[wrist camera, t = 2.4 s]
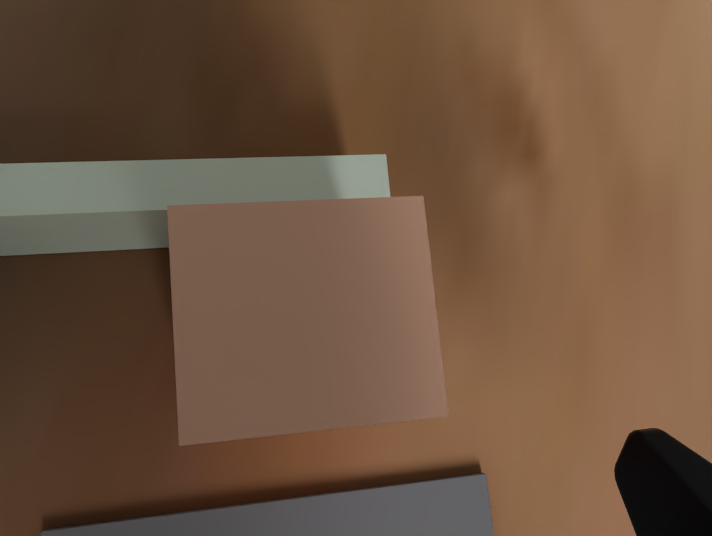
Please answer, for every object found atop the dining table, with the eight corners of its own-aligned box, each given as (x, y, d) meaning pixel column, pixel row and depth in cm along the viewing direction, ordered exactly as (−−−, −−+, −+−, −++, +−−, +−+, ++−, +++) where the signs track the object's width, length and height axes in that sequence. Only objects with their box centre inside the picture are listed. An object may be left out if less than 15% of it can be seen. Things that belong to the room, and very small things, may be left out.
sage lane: (377, 431, 20) (416, 438, 16) (-96, 483, 17) (-187, 508, 13) (354, 199, 21) (386, 154, 17) (-92, 216, 18) (-174, 167, 14)
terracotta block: (340, 407, 20) (449, 416, 10) (197, 422, 19) (179, 445, 10) (330, 287, 20) (423, 195, 11) (191, 296, 19) (166, 205, 10)
